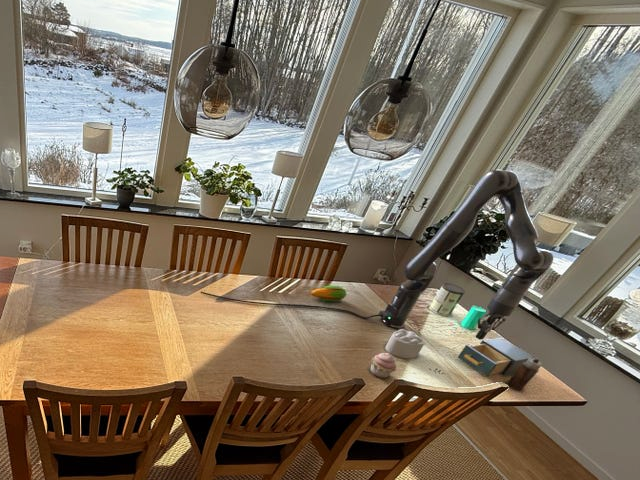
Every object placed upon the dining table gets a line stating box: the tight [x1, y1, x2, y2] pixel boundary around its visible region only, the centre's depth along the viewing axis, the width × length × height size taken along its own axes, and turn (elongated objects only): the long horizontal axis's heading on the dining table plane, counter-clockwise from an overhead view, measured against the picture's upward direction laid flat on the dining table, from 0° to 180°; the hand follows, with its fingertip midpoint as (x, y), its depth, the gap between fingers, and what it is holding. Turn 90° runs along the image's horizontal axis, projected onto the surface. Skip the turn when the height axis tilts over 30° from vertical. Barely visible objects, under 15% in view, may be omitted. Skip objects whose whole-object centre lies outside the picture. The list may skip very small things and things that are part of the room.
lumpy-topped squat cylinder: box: [385, 328, 426, 359], centre depth 171 cm, size 10×13×9 cm
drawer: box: [457, 343, 512, 378], centre depth 168 cm, size 16×13×7 cm
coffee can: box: [428, 282, 466, 317], centre depth 207 cm, size 10×10×14 cm
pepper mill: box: [506, 358, 543, 392], centre depth 158 cm, size 5×5×14 cm
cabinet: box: [479, 337, 535, 377], centre depth 172 cm, size 12×14×8 cm
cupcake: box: [370, 352, 397, 379], centre depth 155 cm, size 9×9×10 cm
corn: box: [310, 285, 347, 303], centre depth 203 cm, size 7×8×20 cm
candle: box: [460, 305, 487, 331], centre depth 197 cm, size 6×6×12 cm
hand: (478, 338), depth 157 cm, fingers closed
